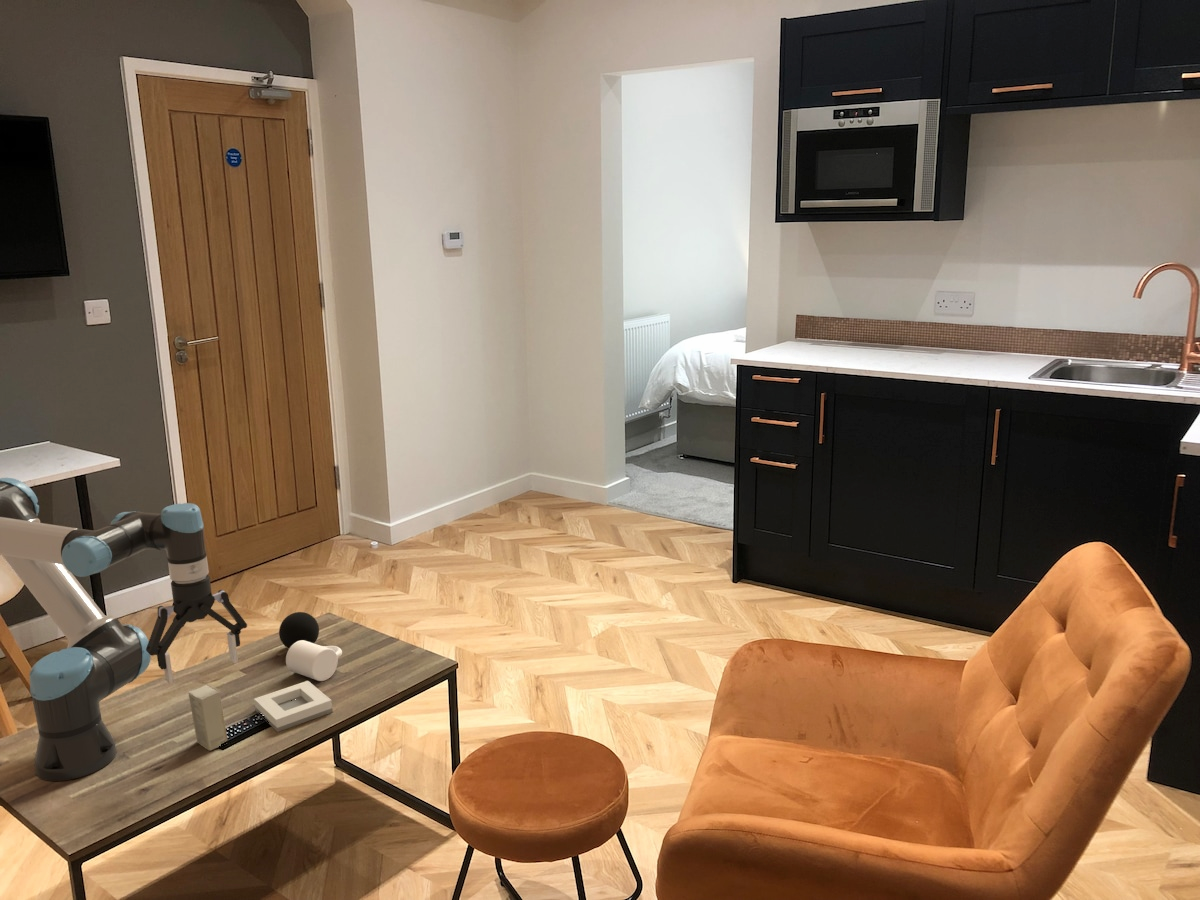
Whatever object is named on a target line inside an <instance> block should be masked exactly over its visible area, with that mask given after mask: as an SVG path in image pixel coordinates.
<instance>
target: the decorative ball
mask: <svg viewBox="0 0 1200 900" xmlns="http://www.w3.org/2000/svg"><path fill="white" fill-rule="evenodd" d="M319 627H320V626H319V624H318V621H317V620H316V618H315V617H314V616H312V614H310V613H308V612H305V611H296V612H293V613H290V614H289V615H287V616H286V617H285V618H284V619H283V620H282V621H281V623H280V625H279V629H278V635H279V639H280V642H281V643H282V644H283V646H285V648H287V649H289V648H290V647H291V646H292V645H293V644H294V643H295V642H297V641H300V640H305V641H308V642H311V643H314V644H316V642H317V639H318V638H319V634H320V628H319Z"/></svg>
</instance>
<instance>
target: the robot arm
mask: <svg viewBox="0 0 1200 900" xmlns="http://www.w3.org/2000/svg"><path fill="white" fill-rule="evenodd" d="M38 502H39V500H38V497H37V496H36V493H35V492H34V491H33V489H32V488H31V487H30V486H28V485H27V484H26V483H25V482H23V481H21V480H19V479H17V478H13V477H0V556H2V557H3V559H4V560H5V561H6V563H7V564H8V565H9V566H10V568H11V569H12V570H13V572H15V574H16V576H18V578H19V579H20V580H21V581H22V583H23V584H24V586H26V588H27V589H28V591H29V592H30V593H31V595H33V597H34V598H35V599H36V601H37V602H38V604H40V606H41V607H42V608H43V609H44V611H45V612H46V613H47V615H48V617H50V619H51V620H52V621H53V623H55V625H56V626H57V627H58V629H59V630H60V631H61V633H62V634H63V635H64V636H65V638H66V639H67V641H68V643H67V647H66V648H62V649H60V651H54V652H51V653H48V654H47V655H45V656H43V657H41V658H40V659H39V660H38V661H37V662H35V663H34V665H33V666H32V667H31V669H30V672H29V676H28V677H29V692H30V695H31V700H32V703H33V704H32V705H33V709H34V714H35V719H36V720H35V721H36V724H37V730H38V735H39V736H38V742H37V746H36V751H35V757H34V769H35V774H36V776H37V777H39V779H42V780H45V781H49V782H60V781H61V782H62V781H69V780H73V779H74V780H75V779H80V778H82V777H86V776H88V775H91V774H93V773H95V772H97V771H99V770H101V769H102V768H104V767H106V766H107V765H109V763H111V762H112V761H113V760H114V759H115V757H116V755H117V747H116V746H117V745H116V741H115V738H114V737H113V735H112V733H110V731H109V729H108V727H107V726H106V724H105V723H104V721H103V719H102V713H101V707H100V702H101V701H103V700H104V699H106V698H107V697H109V696H110V695H112V694H113V693H115V692H117V691H118V690H119V689H121V688H123V687H124V686H125V685H128V684H130V683H132V682H134V681H135V680H136V679H137V678H138V677H139V676H140V675H142V674H143V673H144V672H145V671H146V670H147V669H148V668H149V665H150V663H151V661H152V660H151V659H152V658H151V657H153V656H156V658H157V665H158V667H159V668H160V670H162V671H164V677H165V681H166V682H167V683H168V684H169V685H172V684H174V683H175V682H174V676H173V669H172V663H171V662H172V661H171V656H170V653H169V652H168V650H169V649H170V647H171V645H172V644H173V642H174V640H175V638H176V637H177V636H178V635H179V633H180V631H181V630H182V628H183V627H184V626H185V625H186V624H187V623H193V622H195V621H197V620H204V619H205V618H206V617H207V616H209V617H211V618H213V619H214V620H216V621H217V622H218V623H220V624H221V625H223V626H224V627H225V628H227V629H228V630H229V631H226V638H227V639H226V640H227V646H228V652H229V653H228V655H229V660H230V662H232V663H234V664H238V663H239V659H238V650H237V649H238V647H240V646H241V638H240V634H241V632H242V631H241V630H243V629H246V628H247V627H248V623H247V622H246V621H245V620H244V618H243V617H242V616H241V614H240V613H239V612H238V610H237V609H236V608H235V607H234V605H233V604H232V602H231V601H230V598H229V595H228V592H226V591H225V590H223V589H219V590H218V592H217V593H214V594H213V593H212V586H211V578H210V575H208V574H209V573H210V571H209V564H208V557H207V550H206V541H205V531H204V529H205V528H204V526H205V525H204V520H203V517H202V512H201V509H200V507H199V506H198V505H197V504H195V503H193V502H191V503H190V502H185V503H174V504H170V505H168V506H165V507H164V508H163V509H162V510H161V513H158V512H157V513H155V512H142V511H136V510H134V511H122V512H120V513H118V514H116V515H115V516H114V518H113V519H112V520H111V522H110V524H109V525H106V526H104V527H101V528H99V529H97V530H96V529H95V530H91V529H84V528H77V527H70V526H64V525H57V524H56V525H55V524H50V523H43V522H41V520H40V518H39V517H38V516H39V512H40V505H39V504H38ZM145 550H146V551H147V550H151V551H152V550H153V551H154V550H156V551H166V557H167V563H168V564H167V565H168V573H169V579H170V580H171V582H170V587H171V594H172V595H171V596H172V605H168V606H163V605H159V606H157V618H156V621H155V623H154V626H153V629H152V631H151V634H150V637H149V639H148V637H147V634H145V632H144V631H143V630H142V629H141V628H139V627H138V626H134V624H133V625H132V624H122V622H120V620H119V619H118V618H117V617H116V616H109V615H105V613H104V612H103V611H102V610H101V608H100V607H99V605H97V603H96V602H95V601H94V599H93V598H92V597H91V596H90V594H89V593H88V592H87V591H86V589H85V588H84V587H83V585H81V583H80V582H79V581H78V579H77V577H78V578H79V577H80V578H84V577H89V576H92V575H94V574H98V573H101V572H103V571H104V570H106V569H108V568H109V567H112V566H114V565H115V564H117V563H120V562H122V561H124V560H126V559H128V558H130V557H132V556H134V555H135V556H136V555H137V554H140V552H143V551H145ZM215 601H217V602H218V603H221V604H222V606H223V607H224V608H225V610H226V611H227V612H228V614H229V615H230V616H231V617H232V619H233V620H234V621H235V622H236V623H235V624H233V623H232V622H230V621H229V620H228V619H226V618H224V616H222V615H220V614H219V613H218V612H217V611H215V610H213V608H212V607H213V605H214V603H215ZM173 612H174V613H175V616H174V617H173V619H172V622H171V624H170V625H169V627H168V629H167V631H166V632H165V628H166V625H167V622H168V619H169V617H171V614H172V613H173ZM164 632H165V634H164ZM163 634H164V635H163Z"/></svg>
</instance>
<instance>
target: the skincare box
mask: <svg viewBox="0 0 1200 900" xmlns="http://www.w3.org/2000/svg"><path fill="white" fill-rule="evenodd" d="M187 694H188V698H189V704H190V709H191V715H192V721H193V726H194V733H195V737H196V743H198V744H199V745H201V747H203V748H205V750H208V751H212V750H215V749H217V748H219V746H220V747H221V744H222V743H224V742H226V741H227V740H228V735H227V729H226V724H225V718H224V717H225V716H224V711H223V710H224V709H223V705H222V699H221V693H220V691H219V690H217V689H215V688H214V687H211V686H210V685H208V684H205V685H202V686H199V687H197V688H194V689H192V690H190V691H188V693H187Z"/></svg>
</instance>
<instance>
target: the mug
mask: <svg viewBox="0 0 1200 900" xmlns="http://www.w3.org/2000/svg"><path fill="white" fill-rule="evenodd" d="M342 654H343V650H342V649H341V648H340V647H339V646H337V645H319V644H317V643H311V642H308V641H305V640H300V641H297V642H295V643H294V644H293V645H292V646H291V647H290V648H288V650H287V653H286V656H285V664H286V667H287V669H288V670H289V671H291V672H292V673H295V674H298V675H301V676H304V677H307V678H309V679H313V680H315V681H318V682H323V681H324V682H325V681H326V680H329V678H331V677H332V676H333V675H334V674H335V671H336V670H337V667H338V663H339V662H338V659H339V658H340V657H341V656H342Z"/></svg>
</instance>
